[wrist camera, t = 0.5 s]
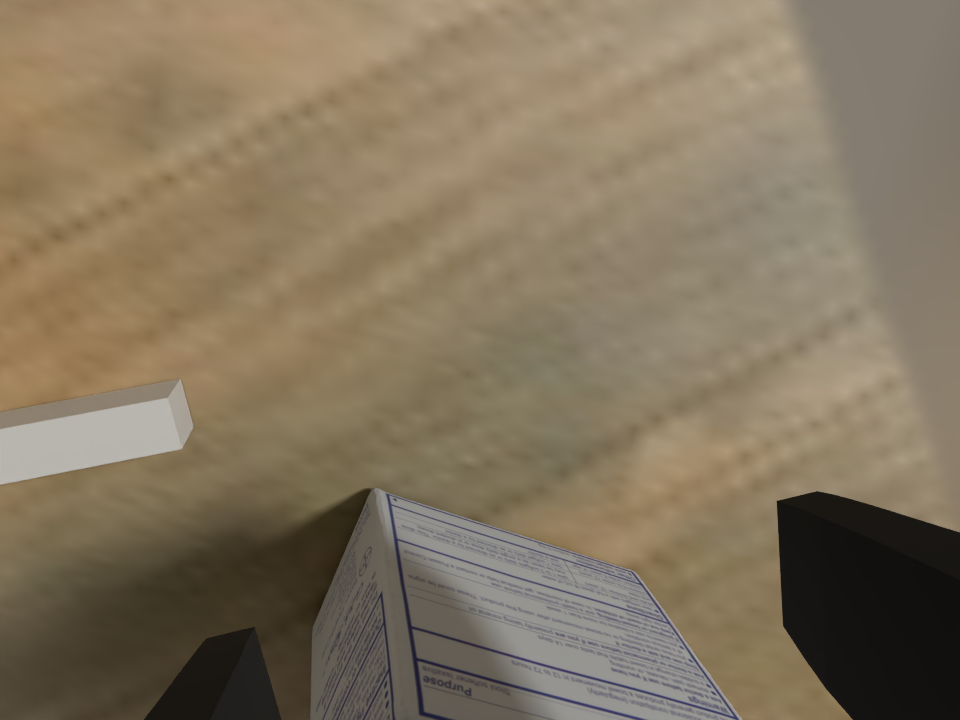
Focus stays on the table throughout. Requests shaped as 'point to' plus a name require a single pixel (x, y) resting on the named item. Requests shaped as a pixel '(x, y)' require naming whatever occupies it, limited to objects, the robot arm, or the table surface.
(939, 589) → the robot arm
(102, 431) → the frame
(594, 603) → the medicine box
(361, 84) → the table surface
